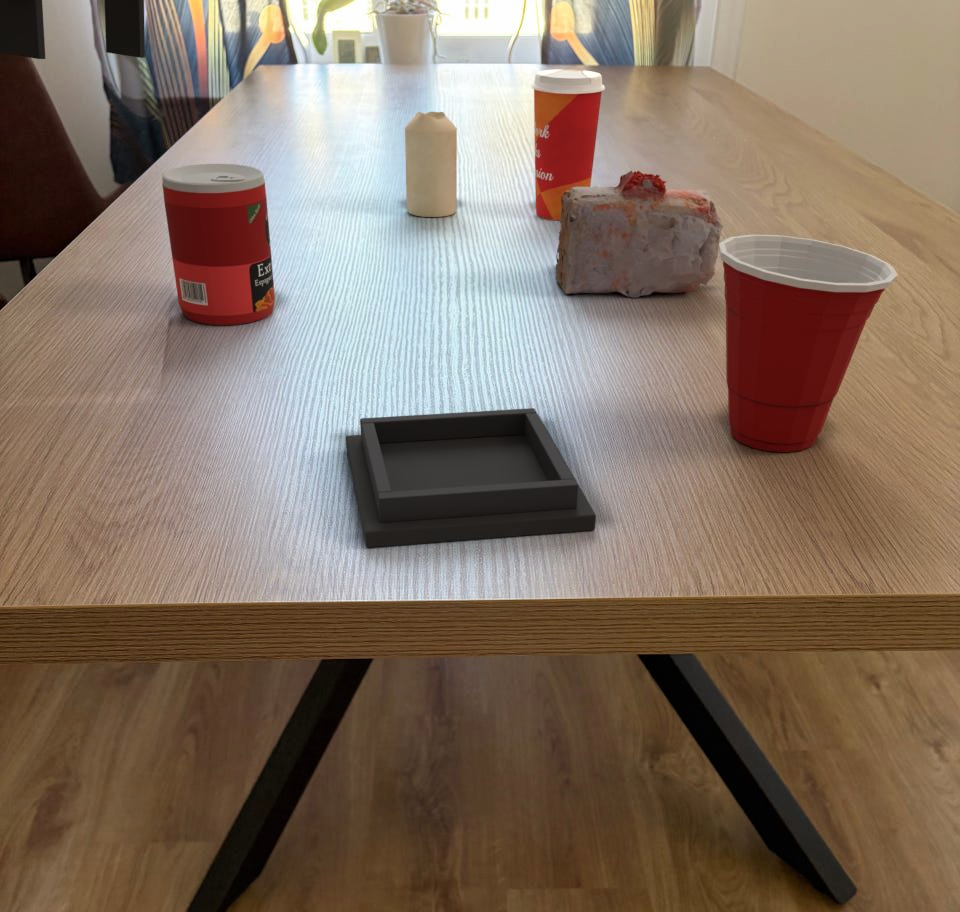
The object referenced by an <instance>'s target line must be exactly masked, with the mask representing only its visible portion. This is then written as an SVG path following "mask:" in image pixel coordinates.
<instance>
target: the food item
mask: <svg viewBox="0 0 960 912" xmlns="http://www.w3.org/2000/svg"><path fill="white" fill-rule="evenodd" d="M660 176H661V175H660V174H656V175H655V174H653V173H647V172H646V173H642V172H641V171H640V170H636V171H632V170H630V171H628V172H626V173H625V174H622V175H621V176H620V177H619V183H618V185H616V186H590V187H572V188H571V190H570V191H566V192H564V194H563V195H562V196H561V204H562V212H561V220H559V223H560V231H558V234H559V235H558V246H557V249H556V264H555V280H556V282H558V284H559V286H560V287H561V289H562V291H563V292H564V294H566V295H569V294H573V295H574V294H611V293H619V294H622V295H624V296H626V297H627V298H639V297H641V296H642V297H643V296H649V295H651V294H652V293H658V294H659V293H661V294H677V293H678V294H679V293H681V294H682V293H689V292H695V291H696V290H697V289H699V288H700V286H701V284H702V285H704V286H707V285H708V283H709V281H710V280H711V279H713V277H714V276H715V274H716V272H715V270H716V268H715V267H716V263H717V259H718V257H719V256H718V254H719V243H720V240H721V235H722V229H723V227H724V225H723V224H722V223H723V222H722V219H721V218H720V212H719V211H718V208H717V207H716V204H715V203H714V202H713V201H712V200H711V197H710V195H709V193H708V192H707V190H705V189H703V188H702V189H701V188H694V189H688V188H666V186H667V185H666V183H667V181H666V180H663V179H662V178H660ZM563 196H564V197H565V198H564V199H562V198H563Z"/></svg>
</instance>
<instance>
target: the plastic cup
mask: <svg viewBox="0 0 960 912" xmlns="http://www.w3.org/2000/svg"><path fill="white" fill-rule="evenodd" d="M718 253H719V257H720V260H721V261H722V266H723V281H724V296H723V297H724V300H725V363H726V364H725V365H726V366H725V367H726V369H725V372H726V373H725V375H726V376H725V377H726V385H727V410H728V411H727V413H728V415H727V416H728V418H727V419H728V423H729V429H730V435H731V437H733V438H734V439H735V440H736V441H737V442H738V443H741V444H743V445H746V446H747V447H750V448H752V449H758V450H762V451H767V452H777V453H778V452H779V453H790V452H798V451H804V450H806V449H808V448H811V447H812V446H813V445H814V444H815V443H816V441H817V439H818V437H819V435H820V434H821V432H822V430H823V428H824V426H825V423H826V420H827V418H828V415H829V412H830V409H831V406H832V404H833V401H834V399H835V397H836V396H837V395H838V392H839V390H840V388H841V385H842V383H843V380H844V377H845V375H846V373H847V371H848V368H849V365H850V362H851V360H852V358H853V355H854V353H855V350H856V347H857V345H858V343H859V340H860V338H861V335H862V333H863V330H864V327H865V325H866V323H867V320H868V319H869V318H870V317H871V315H872V312H873V310H874V308H875V306H876V304H877V303H878V302H879V301H880V299H881V296H882V294H883V292H885V290H886V289H888V288H889V287H890V286H891V285H892V283H894V282H895V280H896V279H897V278H898V276H899V273H898V272H897V271H896V270H895V268H894V267H893V265H892V264H890V263H888V262H886V261H884V260H883V259H880V258H878V257H877V256H875V255H872V254H870V253H867V252H864V251H861V250H857V249H854V248H852V247H848V246H846V245H840V244H836V243H831V242H827V241H821V240H817V239H812V238H805V237H796V236H788V235H780V234H778V235H777V234H745V235H738V236H729V237H728V238H726V239H724V240H722V241H721V242H720V241H719V247H718Z"/></svg>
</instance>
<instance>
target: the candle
mask: <svg viewBox="0 0 960 912" xmlns="http://www.w3.org/2000/svg"><path fill="white" fill-rule="evenodd" d="M457 140H458V129H457V127H456V125H455V124H454V123H453V122H452V121H451V120H450V118H449V117H448V116H447V115H446V114H445V113H444V112H443V111H429V112H425V113H423V112H422V111H421V112H420V111H417V112H416V114H415V115H414V117H413V118H412V119H411V120H410V121H409V122H408V123H407V124H406V126H405V127H404V146H405V147H404V149H405V193H406V197H405V199H406V201H405V202H406V211H407V213H408V214H410V215H412V216H417V217H421V218H422V217H423V218H425V217H426V218H440V217H448V216H451V215H454V214H456V212H457V201H458V200H457V191H458V187H457V185H458V184H457V173H458V171H457V170H458V169H457V167H458V166H457V163H458V161H457V160H458V158H457V156H458V155H457V154H458V152H457V151H458V148H457V147H458V146H457V145H458V141H457Z"/></svg>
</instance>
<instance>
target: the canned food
mask: <svg viewBox="0 0 960 912" xmlns="http://www.w3.org/2000/svg"><path fill="white" fill-rule="evenodd" d="M264 177H265V176H264V172H263V171H262V170H261V169H259V168H256V167H252V166H249V165H244V164H233V163H203V164H190V165H186V166H185V165H183V166H179V167H175V168H171V169H168V170H167V171H165V172H163V173H162V175H161V178H162V179H161V180H162V183H161V186H162V193H163V201H164V203H163V204H164V209H165V215H166V216H165V217H166V223H167V230H168V238H169V244H170V245H169V246H170V251H171V259H172V265H173V266H172V267H173V272H174V278H175V279H174V280H175V286H176V294H177V300H178V306H179V308H180V311H181V313H182V314H183V316H184V317H185V318H186V319H188V320H189V321H192V322H195V323H199V324H204V325H211V326H236V325H243V324H249V323H254V322H257V321H260V320H264V319H265V318H267V317H268V316H270V315H272V313H273V312H274V307H275V303H276V296H275V295H276V293H275V284H274V271H273V259H272V249H271V247H272V246H271V236H270V226H269V225H270V222H269V211H268V199H267V192H266V191H267V190H266V182H265V178H264Z"/></svg>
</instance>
